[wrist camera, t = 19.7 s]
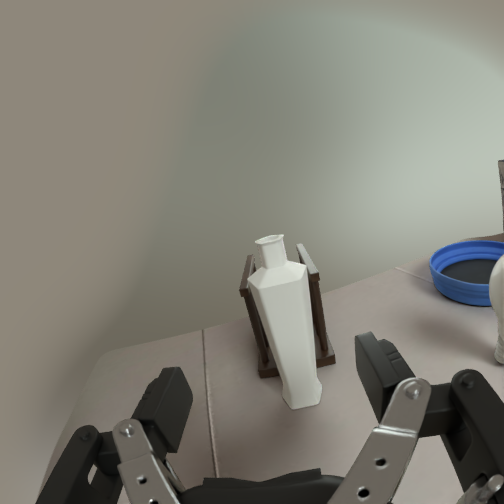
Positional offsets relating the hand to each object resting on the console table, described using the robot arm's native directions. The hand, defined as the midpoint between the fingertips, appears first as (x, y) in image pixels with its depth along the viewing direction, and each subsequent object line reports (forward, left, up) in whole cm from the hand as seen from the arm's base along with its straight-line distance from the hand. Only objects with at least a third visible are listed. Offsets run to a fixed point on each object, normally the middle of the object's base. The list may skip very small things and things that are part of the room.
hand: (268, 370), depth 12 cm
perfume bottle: (+1, +10, -11) cm, 15 cm away
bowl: (+31, +20, -11) cm, 39 cm away
